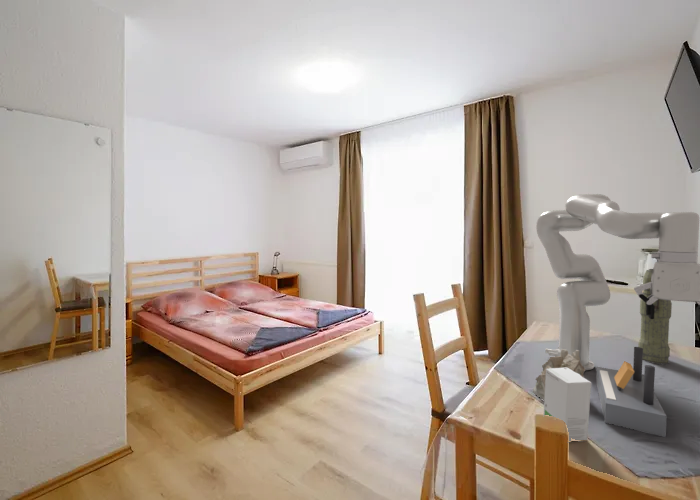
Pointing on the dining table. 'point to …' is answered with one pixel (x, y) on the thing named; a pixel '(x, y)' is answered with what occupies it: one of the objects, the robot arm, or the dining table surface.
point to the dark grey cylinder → (638, 364)
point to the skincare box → (568, 400)
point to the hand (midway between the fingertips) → (674, 320)
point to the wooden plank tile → (623, 375)
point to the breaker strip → (629, 404)
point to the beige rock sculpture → (558, 362)
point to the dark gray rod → (649, 384)
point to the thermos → (655, 328)
